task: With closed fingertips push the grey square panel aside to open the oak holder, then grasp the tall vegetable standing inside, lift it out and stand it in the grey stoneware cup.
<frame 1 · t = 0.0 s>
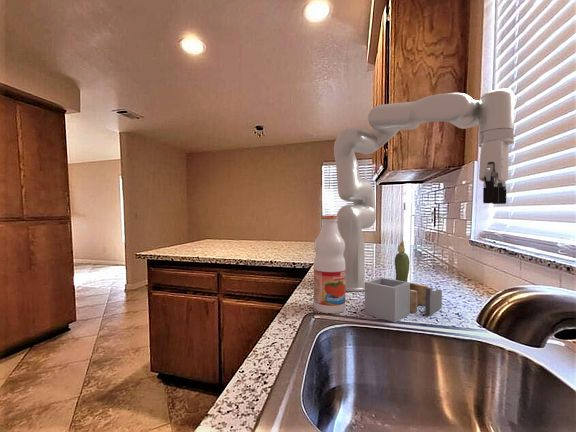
hand: (495, 203, 76), 31 cm above the worktop, tool pointing down, fingers open, 9 cm apart
vegetable: (401, 304, 90), resting in holder
cup: (387, 313, 81), on the worktop
holder: (401, 303, 90), on the worktop
grey square panel: (433, 298, 83), point 4 cm above the worktop, slide at 0.0 cm
fruit juice: (329, 309, 86), on the worktop
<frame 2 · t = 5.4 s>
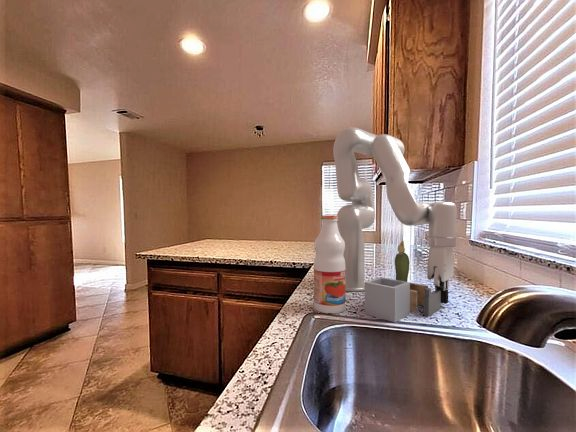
hand: (441, 302, 88), 1 cm above the worktop, tool pointing down, fingers closed
grey square panel: (432, 299, 82), point 4 cm above the worktop, slide at 0.9 cm, touching gripper
everything else where it was.
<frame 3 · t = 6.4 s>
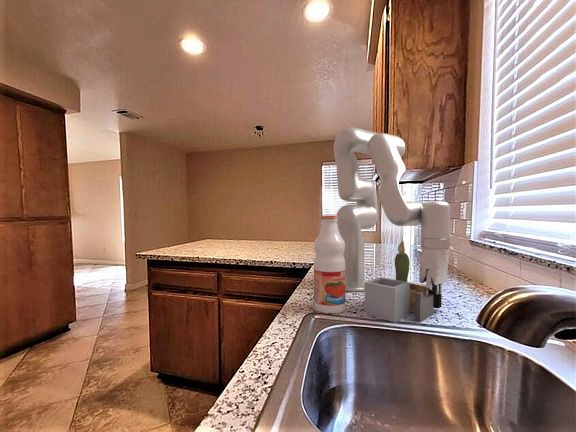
hand: (434, 306, 84), 1 cm above the worktop, tool pointing down, fingers closed
grey square panel: (424, 303, 78), point 4 cm above the worktop, slide at 6.7 cm, touching gripper
everything else where it was.
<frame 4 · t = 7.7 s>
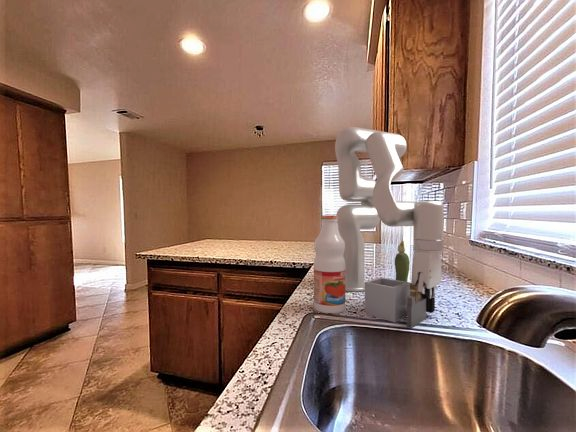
hand: (427, 311, 80), 1 cm above the worktop, tool pointing down, fingers closed
grey square panel: (416, 308, 75), point 4 cm above the worktop, slide at 12.1 cm, touching gripper
everything else where it was.
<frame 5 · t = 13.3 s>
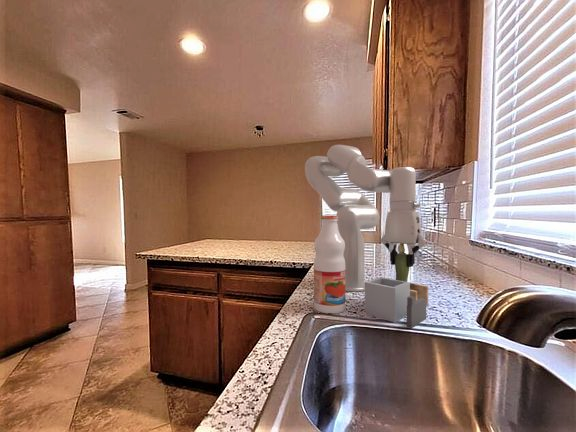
hand: (402, 264, 90), 12 cm above the worktop, tool pointing down, fingers closed on vegetable, 4 cm apart
vegetable: (401, 304, 90), resting in holder, touching gripper
grey square panel: (416, 308, 75), point 4 cm above the worktop, slide at 12.0 cm
everything else where it was.
when the fingers open (13 cm above the worktop, at t = 19.4 s): vegetable stays where it is, resting in cup.
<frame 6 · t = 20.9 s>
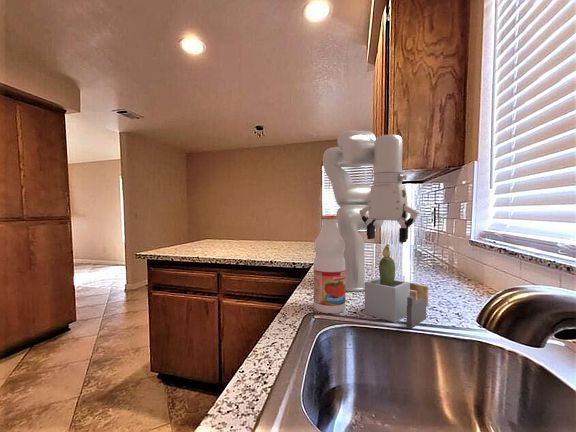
hand: (386, 240, 82), 21 cm above the worktop, tool pointing down, fingers open, 9 cm apart
vegetable: (386, 314, 82), resting in cup
everything else where it was.
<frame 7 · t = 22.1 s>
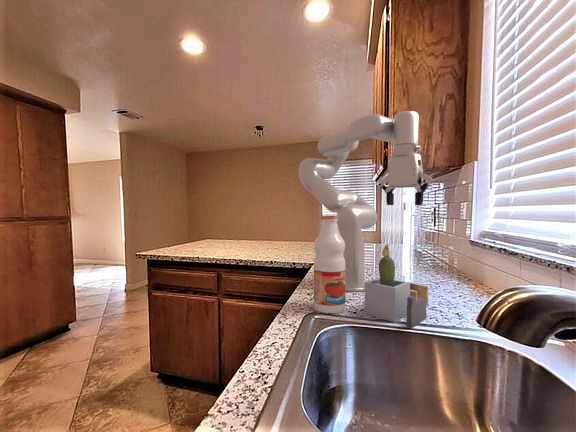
hand: (403, 205, 92), 31 cm above the worktop, tool pointing down, fingers open, 9 cm apart
nothing on the worktop moved.
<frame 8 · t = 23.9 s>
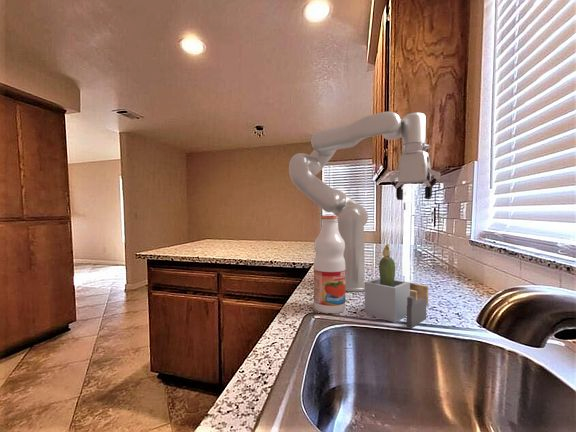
hand: (413, 199, 100), 33 cm above the worktop, tool pointing down, fingers open, 9 cm apart
nothing on the worktop moved.
at the end: grey square panel slide at 12.0 cm; vegetable inside the target area on the cup (0.2 cm from its centre), point 0.0 cm above the cup's base; vegetable tilted 0° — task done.
